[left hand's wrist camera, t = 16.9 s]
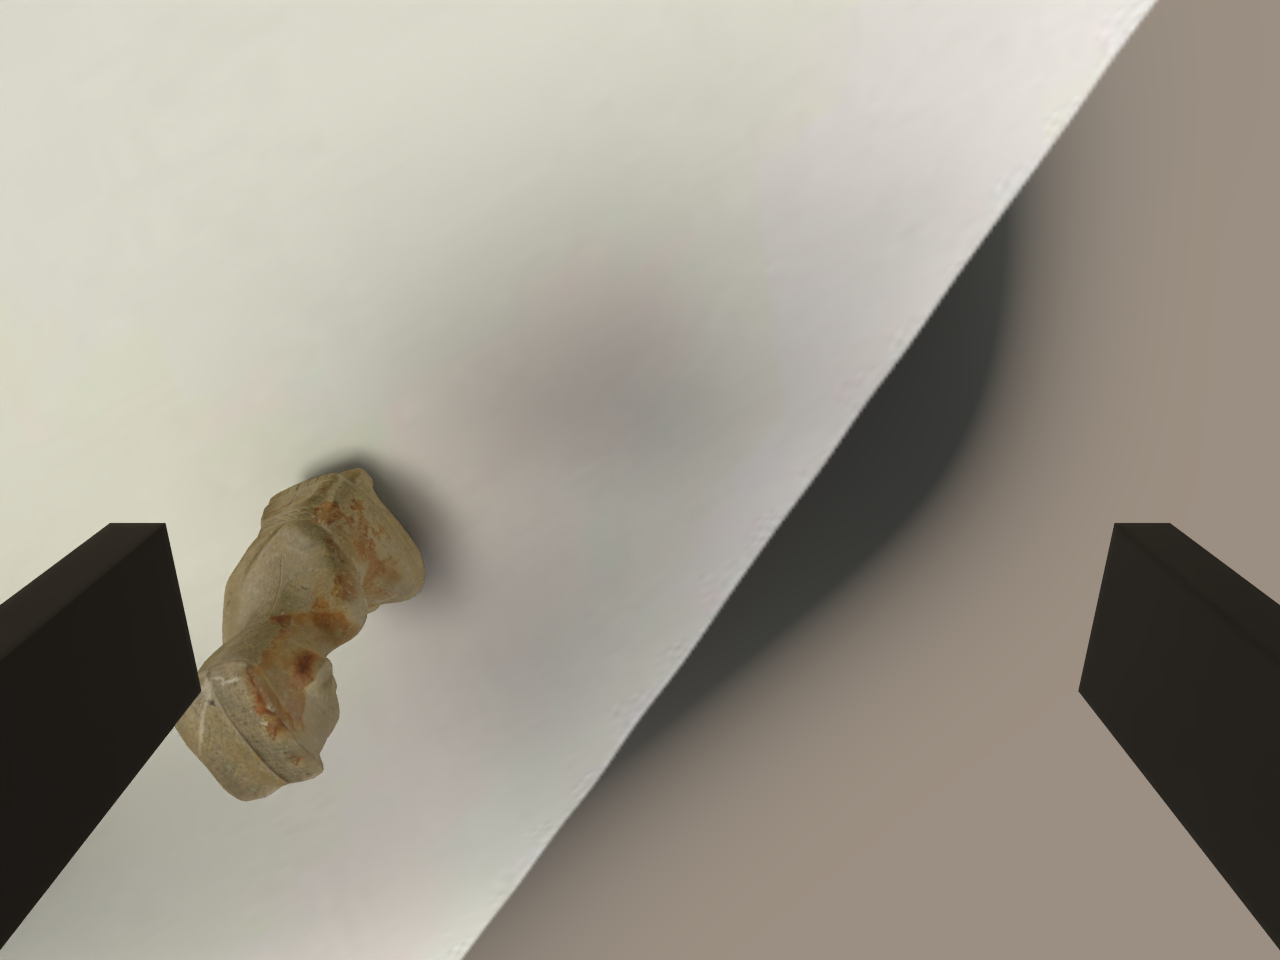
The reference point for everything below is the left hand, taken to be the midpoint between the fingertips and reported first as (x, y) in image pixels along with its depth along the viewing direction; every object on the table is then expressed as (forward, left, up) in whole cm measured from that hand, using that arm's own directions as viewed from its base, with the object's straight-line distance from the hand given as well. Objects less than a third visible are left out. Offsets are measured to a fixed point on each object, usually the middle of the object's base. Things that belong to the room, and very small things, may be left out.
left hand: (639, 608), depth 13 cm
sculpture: (-16, +6, -27) cm, 32 cm away
